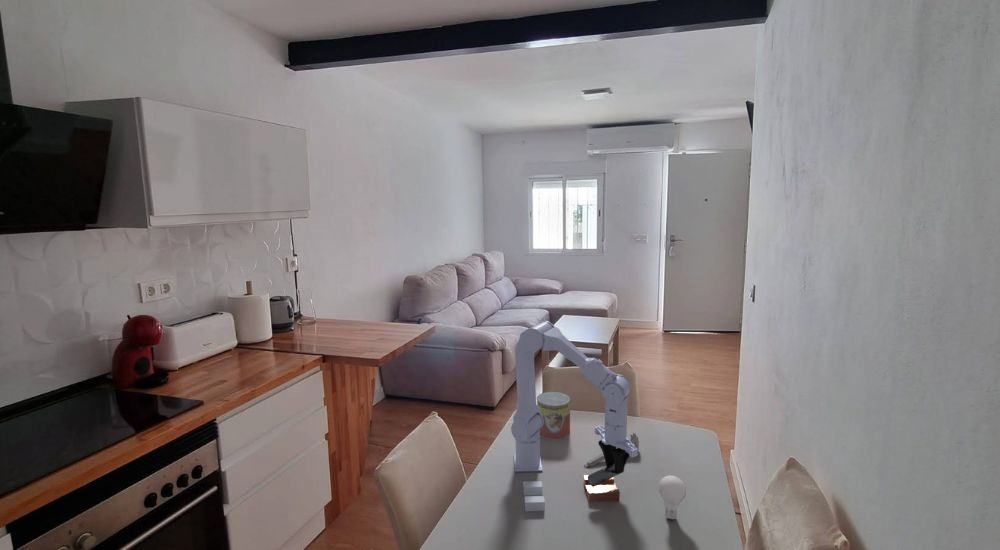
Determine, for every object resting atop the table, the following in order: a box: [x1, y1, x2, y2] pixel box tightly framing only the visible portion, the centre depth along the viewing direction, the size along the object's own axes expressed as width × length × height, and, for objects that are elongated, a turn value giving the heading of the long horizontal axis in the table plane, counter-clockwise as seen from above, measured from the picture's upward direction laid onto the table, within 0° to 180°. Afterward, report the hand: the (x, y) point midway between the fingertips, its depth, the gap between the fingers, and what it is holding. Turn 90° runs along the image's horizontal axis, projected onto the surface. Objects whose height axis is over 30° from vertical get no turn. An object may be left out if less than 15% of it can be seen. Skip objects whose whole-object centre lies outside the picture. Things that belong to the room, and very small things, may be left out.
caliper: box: [583, 432, 640, 468], centre depth 146 cm, size 20×1×6 cm, turn 117°
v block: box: [583, 474, 621, 503], centre depth 130 cm, size 8×8×2 cm
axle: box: [587, 463, 625, 487], centre depth 127 cm, size 10×3×3 cm, turn 118°
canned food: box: [536, 391, 571, 441], centre depth 162 cm, size 11×11×12 cm
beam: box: [522, 480, 546, 512], centre depth 127 cm, size 9×5×2 cm, turn 0°
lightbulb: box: [658, 475, 687, 520], centre depth 118 cm, size 6×6×11 cm
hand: (614, 469), depth 129 cm, fingers closed on axle, 3 cm apart
